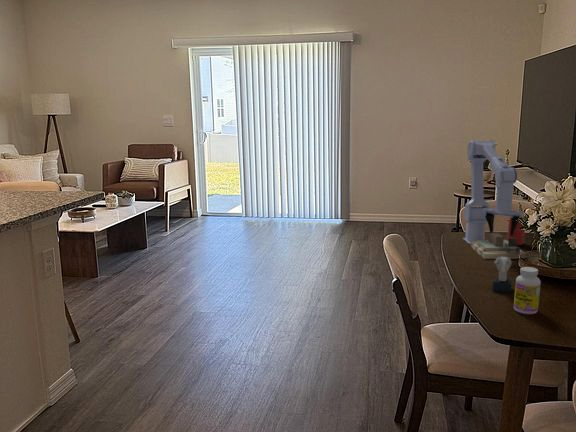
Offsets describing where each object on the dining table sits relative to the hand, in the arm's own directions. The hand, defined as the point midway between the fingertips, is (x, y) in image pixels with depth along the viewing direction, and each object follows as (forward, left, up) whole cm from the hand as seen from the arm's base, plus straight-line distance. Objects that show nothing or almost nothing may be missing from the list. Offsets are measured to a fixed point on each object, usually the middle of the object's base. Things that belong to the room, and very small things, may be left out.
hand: (501, 233), depth 211 cm
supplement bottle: (+54, -11, -10) cm, 56 cm away
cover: (-10, +1, -8) cm, 12 cm away
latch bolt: (-3, +5, -6) cm, 9 cm away
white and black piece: (+36, -12, -10) cm, 39 cm away
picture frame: (-8, +1, -10) cm, 12 cm away
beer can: (-21, +13, -10) cm, 26 cm away
